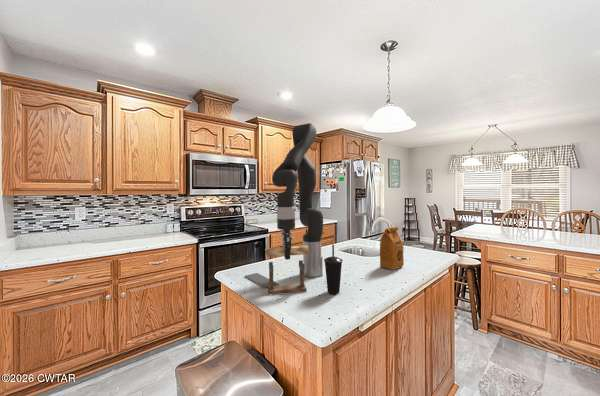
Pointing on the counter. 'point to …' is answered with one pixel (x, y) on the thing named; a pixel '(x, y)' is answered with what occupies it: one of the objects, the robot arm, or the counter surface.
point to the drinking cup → (333, 273)
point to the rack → (287, 288)
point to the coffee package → (391, 249)
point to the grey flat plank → (260, 280)
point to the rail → (281, 252)
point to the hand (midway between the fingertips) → (287, 257)
